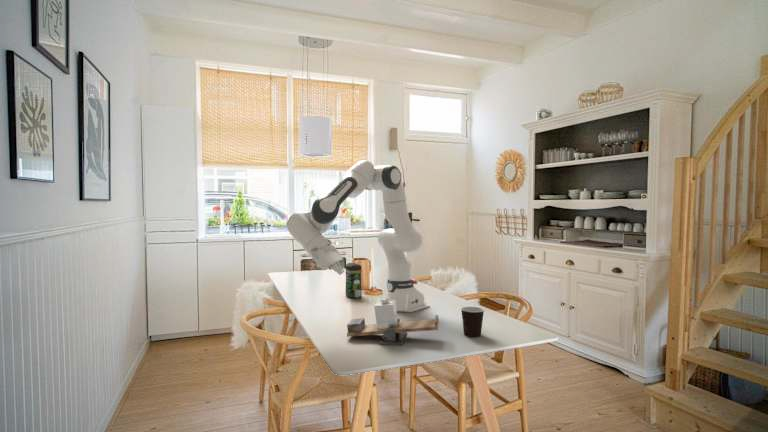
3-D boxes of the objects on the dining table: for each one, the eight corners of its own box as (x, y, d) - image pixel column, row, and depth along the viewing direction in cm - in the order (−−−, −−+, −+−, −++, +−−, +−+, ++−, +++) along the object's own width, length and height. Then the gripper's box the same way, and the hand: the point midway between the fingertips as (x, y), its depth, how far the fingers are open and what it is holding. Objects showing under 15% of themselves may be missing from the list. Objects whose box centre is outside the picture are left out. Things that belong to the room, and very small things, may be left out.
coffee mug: (479, 339, 157) (479, 313, 157) (457, 335, 162) (457, 310, 161) (489, 331, 167) (489, 307, 167) (468, 328, 171) (468, 304, 171)
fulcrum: (379, 344, 152) (379, 329, 151) (386, 331, 167) (386, 317, 167) (401, 345, 150) (401, 330, 150) (406, 332, 166) (406, 318, 166)
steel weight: (377, 329, 156) (373, 302, 156) (380, 324, 163) (377, 298, 163) (395, 328, 155) (392, 300, 155) (398, 323, 162) (394, 296, 162)
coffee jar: (343, 295, 233) (343, 262, 232) (356, 294, 236) (356, 261, 236) (350, 299, 224) (350, 264, 224) (363, 297, 228) (363, 263, 227)
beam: (347, 336, 157) (345, 325, 157) (353, 328, 166) (352, 318, 166) (437, 329, 151) (436, 318, 151) (438, 322, 161) (437, 311, 161)
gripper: (314, 243, 152) (340, 271, 151) (331, 239, 172) (354, 264, 171) (303, 255, 153) (328, 283, 151) (320, 250, 173) (343, 274, 172)
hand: (342, 273), depth 161 cm, fingers closed
